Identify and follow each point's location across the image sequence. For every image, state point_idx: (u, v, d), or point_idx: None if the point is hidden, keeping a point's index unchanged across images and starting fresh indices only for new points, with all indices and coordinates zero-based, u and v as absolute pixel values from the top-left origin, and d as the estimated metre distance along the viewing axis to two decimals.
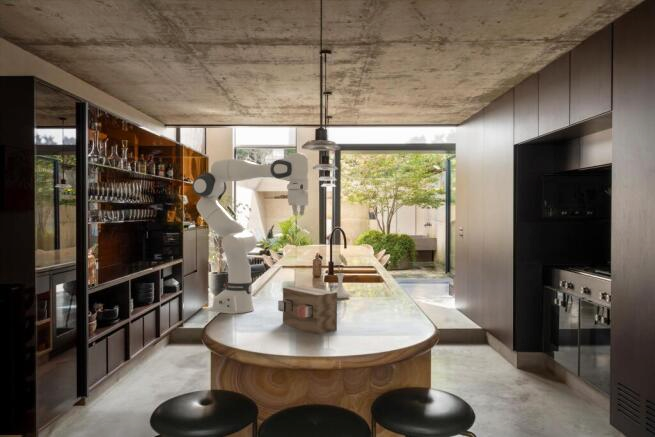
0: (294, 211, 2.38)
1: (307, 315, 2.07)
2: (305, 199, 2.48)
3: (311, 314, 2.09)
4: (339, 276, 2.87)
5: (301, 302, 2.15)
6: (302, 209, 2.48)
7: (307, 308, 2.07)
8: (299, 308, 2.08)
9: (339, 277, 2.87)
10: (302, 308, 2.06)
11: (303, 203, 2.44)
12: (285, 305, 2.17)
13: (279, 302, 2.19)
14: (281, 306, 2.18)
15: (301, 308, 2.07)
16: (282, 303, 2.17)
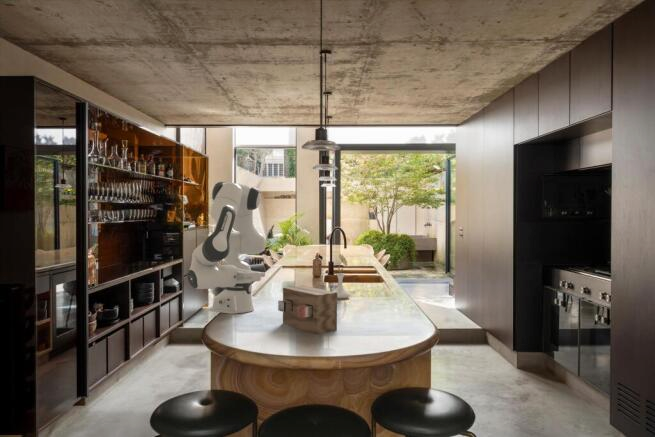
0: None
1: (307, 315, 2.07)
2: None
3: (311, 314, 2.09)
4: (339, 276, 2.87)
5: (301, 302, 2.15)
6: None
7: (307, 308, 2.07)
8: (299, 308, 2.08)
9: (339, 277, 2.87)
10: (302, 308, 2.06)
11: None
12: (285, 305, 2.17)
13: (279, 302, 2.19)
14: (281, 306, 2.18)
15: (301, 308, 2.07)
16: (282, 303, 2.17)
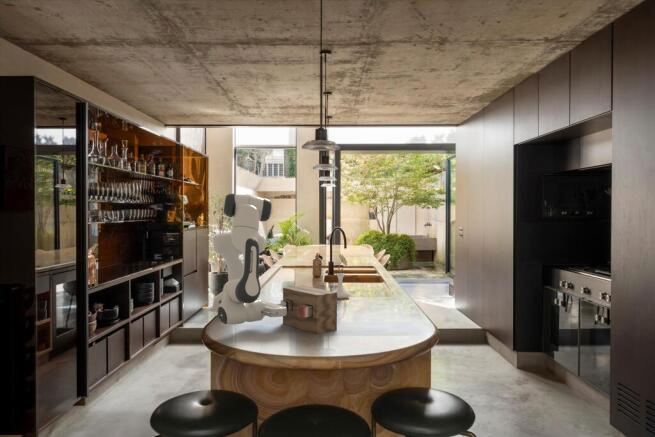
0: None
1: (307, 315, 2.07)
2: None
3: (311, 314, 2.09)
4: (339, 276, 2.87)
5: (301, 302, 2.15)
6: None
7: (307, 308, 2.07)
8: (299, 308, 2.08)
9: (339, 277, 2.87)
10: (302, 308, 2.06)
11: None
12: (287, 305, 2.18)
13: (281, 302, 2.20)
14: None
15: (301, 308, 2.07)
16: (284, 303, 2.18)
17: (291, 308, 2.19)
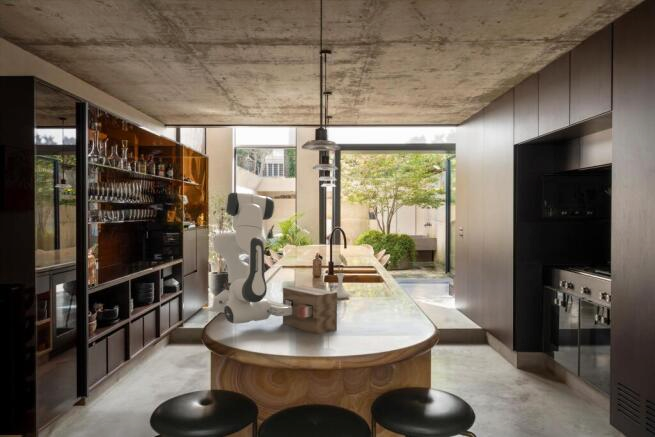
0: None
1: (307, 315, 2.07)
2: None
3: (311, 314, 2.09)
4: (339, 276, 2.87)
5: (301, 302, 2.15)
6: None
7: (307, 308, 2.07)
8: (299, 308, 2.08)
9: (339, 277, 2.87)
10: (302, 308, 2.06)
11: None
12: None
13: (287, 301, 2.22)
14: None
15: (301, 308, 2.07)
16: (290, 302, 2.20)
17: None
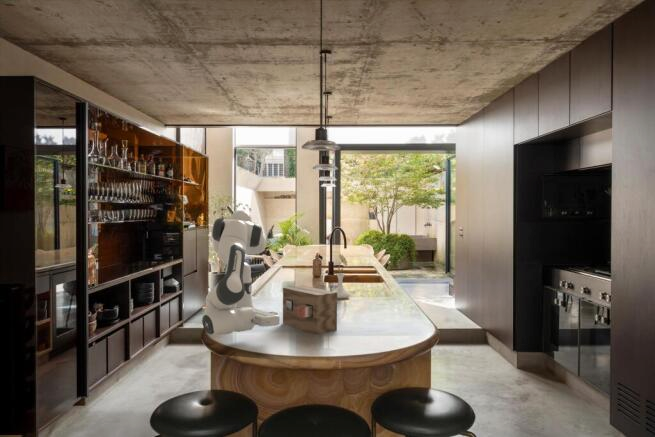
0: None
1: (307, 315, 2.07)
2: None
3: (311, 314, 2.09)
4: (339, 276, 2.87)
5: (301, 302, 2.15)
6: None
7: (307, 308, 2.07)
8: (299, 308, 2.08)
9: (339, 277, 2.87)
10: (302, 308, 2.06)
11: None
12: None
13: (287, 301, 2.22)
14: (289, 305, 2.21)
15: (301, 308, 2.07)
16: (290, 302, 2.20)
17: None
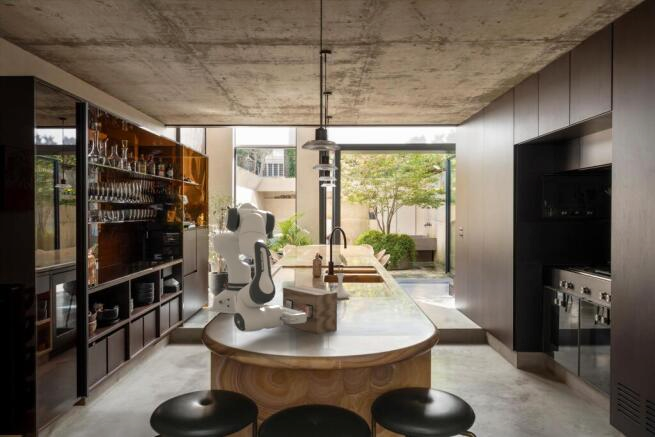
0: None
1: (308, 315, 2.08)
2: None
3: (312, 314, 2.09)
4: (339, 276, 2.87)
5: (301, 302, 2.15)
6: None
7: (308, 308, 2.08)
8: (300, 308, 2.09)
9: (339, 277, 2.87)
10: (303, 308, 2.07)
11: None
12: None
13: (287, 301, 2.22)
14: (289, 305, 2.21)
15: (302, 308, 2.07)
16: (290, 302, 2.20)
17: None
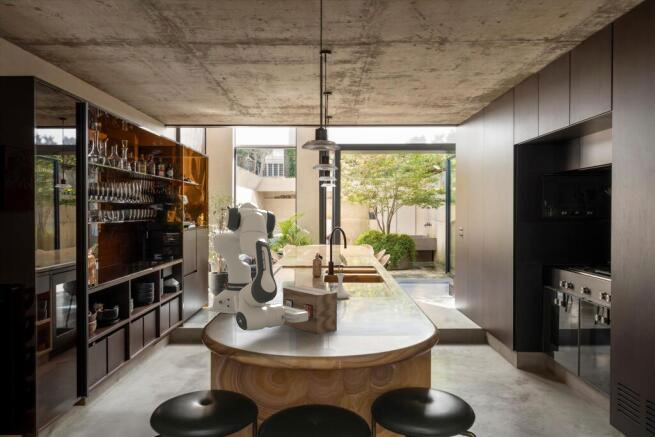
0: None
1: None
2: None
3: None
4: (339, 276, 2.87)
5: (301, 302, 2.15)
6: None
7: None
8: (305, 307, 2.10)
9: (339, 277, 2.87)
10: (308, 307, 2.09)
11: None
12: None
13: (287, 301, 2.22)
14: (289, 305, 2.21)
15: (307, 307, 2.09)
16: (290, 302, 2.20)
17: None
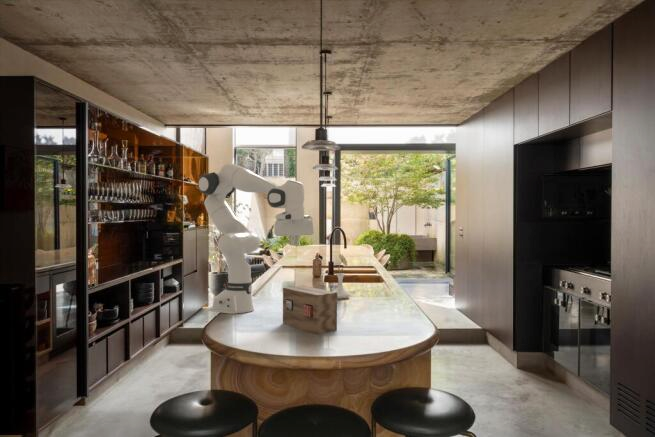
0: (291, 241, 2.33)
1: None
2: (305, 228, 2.36)
3: None
4: (339, 276, 2.87)
5: (301, 302, 2.15)
6: (296, 239, 2.34)
7: None
8: (305, 307, 2.10)
9: (339, 277, 2.87)
10: (308, 307, 2.09)
11: (299, 232, 2.33)
12: None
13: (287, 301, 2.22)
14: (289, 305, 2.21)
15: (307, 307, 2.09)
16: (290, 302, 2.20)
17: None
